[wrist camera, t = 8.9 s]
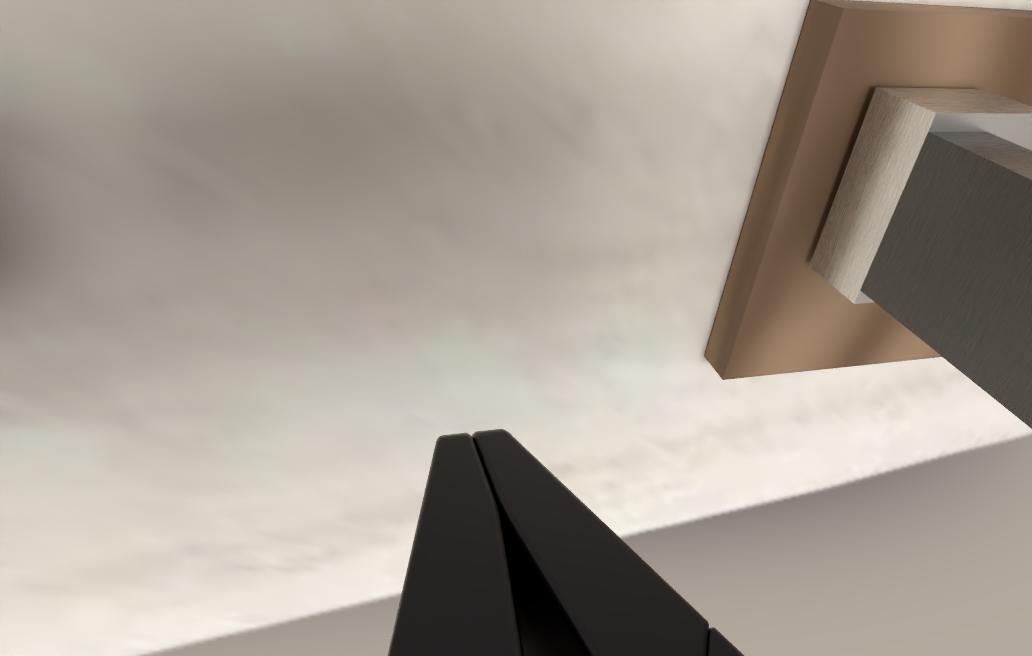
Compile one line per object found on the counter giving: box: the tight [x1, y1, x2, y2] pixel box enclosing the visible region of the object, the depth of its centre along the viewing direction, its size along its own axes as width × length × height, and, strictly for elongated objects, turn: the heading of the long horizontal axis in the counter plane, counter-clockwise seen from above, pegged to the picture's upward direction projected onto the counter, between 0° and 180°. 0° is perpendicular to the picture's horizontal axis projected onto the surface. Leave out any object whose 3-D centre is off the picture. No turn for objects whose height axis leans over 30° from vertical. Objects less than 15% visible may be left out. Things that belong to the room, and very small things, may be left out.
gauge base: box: [705, 0, 1032, 380], centre depth 22 cm, size 13×13×8 cm
